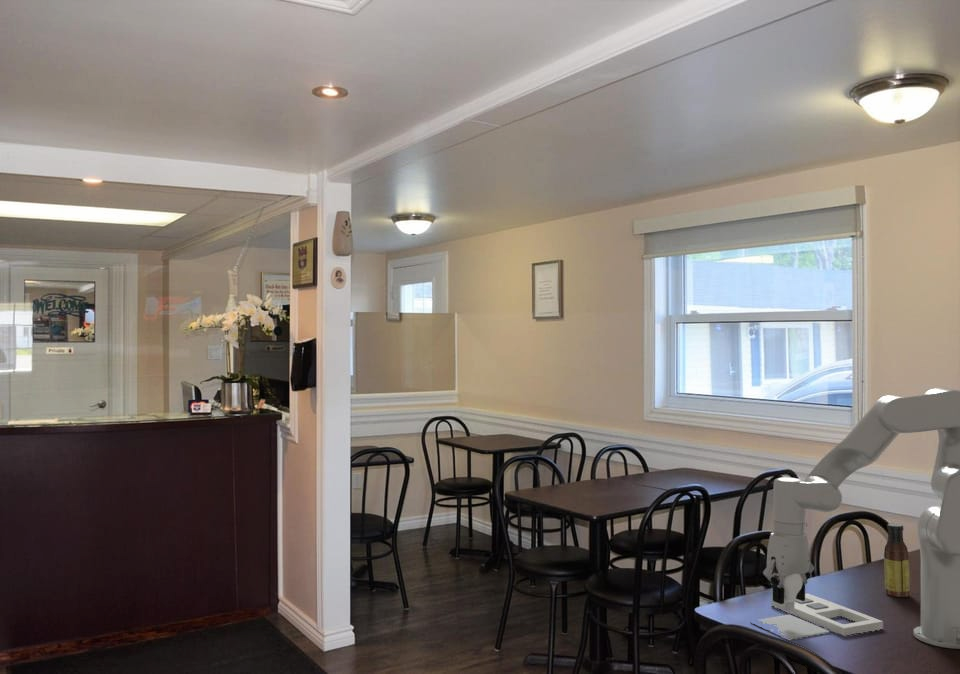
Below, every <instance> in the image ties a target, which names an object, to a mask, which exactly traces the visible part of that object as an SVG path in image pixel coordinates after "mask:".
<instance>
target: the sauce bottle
mask: <svg viewBox="0 0 960 674" xmlns="http://www.w3.org/2000/svg"><path fill="white" fill-rule="evenodd" d="M886 528H887V533H888V534H887V536H888V537H887V542H886V544H885V547H884V553H883V560H884V562H883V563H884V565H883V566H884V567H883V568H884V588H885V593H886V594H887V595H889V596H890V597H894V598H908V597H909V596H910V594H911V593H910V591H911V583H910V560H909V551H908V546H907V545H906V543H905V542H904V541H905V540H904V534H903V531H904V525H903V524H901V523H895V522H893V523H892V522H891V523H890V522H889V523H888V524H887V525H886Z"/></svg>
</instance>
